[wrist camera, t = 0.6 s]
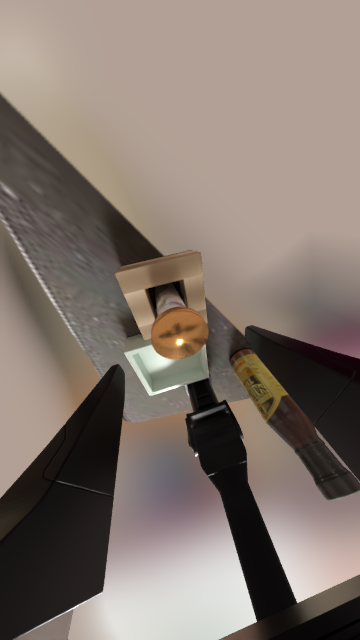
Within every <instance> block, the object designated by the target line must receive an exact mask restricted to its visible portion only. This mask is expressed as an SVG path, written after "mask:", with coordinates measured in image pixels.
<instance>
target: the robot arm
mask: <svg viewBox="0 0 360 640" xmlns="http://www.w3.org/2000/svg"><path fill="white" fill-rule="evenodd" d="M245 338H246V340H247V342H248V343H249V345H250V346H251V348H252V349H253V351H254V352H255V354H256V355H257V357H258V358H259V359H260V360H261V362H262V363H263V364H264V365H265V366H266V368H267V369H268V370H269V371H270V373H271V374H272V375H273V376H274V377H275V379H276V380H277V381H278V382H279V383H280V385H281V386H282V387H283V388H284V390H285V391H286V392H287V393H288V394H289V396H290V397H291V398H292V399H293V401H294V402H295V403H296V404H297V405H298V407H299V408H300V409H301V410H302V411H303V413H304V414H305V415H306V416H307V418H308V419H309V420H310V421H311V422H312V424H314V426H315V427H316V429H317V430H318V431H319V432H320V434H321V435H322V436H323V437H324V438H325V440H326V441H327V442H328V443H329V444H330V446H331V447H332V448H333V449H334V450H335V452H336V453H337V454H338V455H339V457H340V458H341V459H342V460H343V461H344V463H345V464H346V465H347V466H348V468H349V469H350V470H351V471H352V472H353V474H354V475H355V476H356V477H357V478H358V480H359V481H360V359H358V358H355V357H351V356H348V355H344V354H341V353H337V352H334V351H330V350H327V349H324V348H321V347H318V346H314V345H311V344H308V343H305V342H302V341H299V340H296V339H292V338H290V337H287V336H284V335H280V334H277V333H274V332H271V331H268V330H265V329H261V328H258V327H255V326H247V327H246V329H245ZM185 389H186V392H187V395H188V397H190V401H191V404H192V408H193V413H190V414H186V415H187V418H186V419H185V420H186V424H187V432H188V443H189V446H190V447H191V448H192V449H193V451H194V453H195V456H199V460H200V464H201V467H202V469H203V470H204V471H205V473H206V474H207V476H208V477H209V479H210V480H211V481H212V483H213V484H214V485H215V487H216V488H217V489H218V491H219V492H220V495H221V498H222V501H223V504H224V508H225V512H226V515H227V519H228V522H229V525H230V529H231V533H232V536H233V540H234V543H235V547H236V550H237V553H238V557H239V560H240V564H241V567H242V571H243V574H244V578H245V581H246V584H247V588H248V592H249V595H250V599H251V602H252V605H253V609H254V612H255V616H256V619H257V622H256V623H254V624H252V625H250V626H247V627H245V628H243V629H241V630H239V631H237V632H235V633H232V634H230V635H228V636H226V637H224V638H222V639H219V640H360V575H358V576H356V577H353V578H351V579H349V580H347V581H345V582H343V583H341V584H338V585H336V586H334V587H332V588H330V589H328V590H325V591H323V592H321V593H319V594H317V595H314V596H313V597H310V598H308V599H306V600H304V601H302V602H299V603H297V601H296V599H295V597H294V594H293V592H292V589H291V587H290V584H289V582H288V580H287V577H286V574H285V572H284V570H283V567H282V565H281V563H280V560H279V557H278V555H277V553H276V550H275V548H274V545H273V543H272V540H271V538H270V535H269V533H268V531H267V528H266V526H265V523H264V521H263V518H262V516H261V513H260V511H259V508H258V506H257V503H256V501H255V499H254V496H253V494H252V491H251V489H250V486H249V484H248V476H247V453H246V449H245V446H244V444H243V442H242V439H243V438H244V437H243V433H242V431H241V428H240V426H239V424H238V422H237V420H236V418H235V416H234V414H233V412H232V411H231V409H230V407H229V405H228V403H227V402H226V400H223V401H222V402H220V403H219V402H218V400H217V398H216V395H215V393H214V391H213V388H212V382H211V375H210V374H209V378H206V379H203V380H200V381H196V382H193V383H190V384H187V385H185ZM124 400H125V373H124V371H123V369H122V368H121V366H120V365H119V364H116V365H113V366H111V368H110V369H109V370H108V371H107V373H106V374H105V375H104V376H103V377H102V379H101V380H100V381H99V382H98V384H97V385H96V386H95V387H94V389H93V390H92V391H91V392H90V394H89V395H88V396H87V397H86V398H85V400H84V401H83V402H82V403H81V405H80V406H79V407H78V408H77V410H76V411H75V412H74V413H73V415H72V416H71V417H70V418H69V419H68V421H67V422H66V424H65V425H64V426H63V427H62V428H61V429H60V431H59V432H58V433H57V434H56V435H55V437H54V438H53V439H52V440H51V441H50V443H49V444H48V445H47V446H46V447H45V449H44V450H43V451H42V452H41V453H40V454H39V455H38V457H37V458H36V459H35V460H34V461H33V462H32V463H31V465H30V466H29V467H28V468H27V469H26V470H25V471H24V472H23V473H22V475H21V476H20V477H19V478H18V479H17V480H16V481H15V482H14V484H13V485H12V486H11V487H10V488H9V489H8V490H7V491H6V493H5V494H4V495H3V496H2V497H1V498H0V640H68V639H67V638H68V633H69V628H70V624H71V619H72V614H73V609H74V608H75V607H77V606H79V605H80V604H83V603H84V602H86V601H88V600H90V599H92V598H94V597H96V596H97V595H99V594H101V593H102V592H103V587H104V579H105V570H106V562H107V553H108V544H109V534H110V526H111V517H112V508H113V499H114V497H113V496H114V489H115V480H116V471H117V461H118V454H119V445H120V436H121V427H122V418H123V409H124Z"/></svg>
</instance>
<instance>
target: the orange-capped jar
mask: <svg viewBox="0 0 360 640" xmlns="http://www.w3.org/2000/svg"><path fill="white" fill-rule="evenodd" d="M155 297H156V305H157V313H158V317H157V318H156V319H155V320H154V322H153V324H152V328H151V342H152V346H153V348H154V350H155V351H156V352H157V353H158V354H159V355H160V356H162V357H165V358H168V359H184V358H187V357H190V356H192V355H194V354H195V353H197V352H198V351H199V350H201V348H202V347H203V346H204V345H205V343H206V341H207V339H208V334H209V330H208V326H207V324H206V322H205V321H204V319H203V318H202V316H201V315H200V314H199V313H198V312H197V311H196V310H194V309H192V308H189V307H186V306H185V304H184V302H183V301H182V299H181V297H180V295H179V294H178V292H177V290H176V288H175V287H174V285H173V284H172V283H171V282H170V283H167V284H163V285H159V286H156V287H155Z"/></svg>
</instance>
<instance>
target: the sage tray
mask: <svg viewBox="0 0 360 640" xmlns="http://www.w3.org/2000/svg"><path fill="white" fill-rule="evenodd" d="M124 354H125V355H126V357H127V359H128V360H129V362H130V364H131V365H132V367H133V369H134V370H135V372H136V374H137V375H138V377H139V379H140V380H141V382H142V384H143V385H144V387H145V389H146V390H147V392H148V394H149V395H150V396H152V395H155V394H158V393H161V392H164V391H168V390H171V389H174V388H177V387H180V386H184V385H187V384H190V383H193V382H196V381H200V380H203V379H206V378H209V370H208V362H207V353H206V345H204V346H203V347H202V348H201V350H199V351H198V352H197V353H195V354H194V355H192V356H190V357H187V358H184V359H168V358H165V357H162V356H160V355H159V354H158V353H157V352H156V351H155V350H154V348H153V346H152V342H151V339H148V340H144V338H143V336H142V334H139V335H135V336H132V337H128V338H127V341H126V346H125V351H124Z"/></svg>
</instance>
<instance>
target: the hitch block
mask: <svg viewBox="0 0 360 640" xmlns="http://www.w3.org/2000/svg"><path fill="white" fill-rule="evenodd" d="M115 276H116V278H117V280H118V282H119V285H120V287H121V289H122V291H123V294H124V296H125V298H126V300H127V302H128V305H129V307H130V309H131V311H132V314H133V316H134V318H135V320H136V323H137V325H138V327H139V329H140V332H141V334H142V336H143V338H144V340H148V339H151V328H152V324H153V322H154V320H155V319H156V318H157V317H158V313H157V308H156V309H155V308H154V305H153V302H152V299H151V296H150V294H149V291H148V288H151V287H155V286H159V285H163V284H167V283H170V282H174V281H178V280H179V284H180V289H181V294H182V299H183V302H184V304H185V306H186V307H189V308H192V309H194V310H196V311H197V312H198V313H199V314H200V315H201V316H202V318H203V319H204V321H205V322H206V323H207V313H206V302H205V292H204V281H203V271H202V260H201V253H200V252H197V251H192V250H189V251H185V252H180V253H176V254H172V255H168V256H163V257H159V258H155V259H151V260H147V261H143V262H138V263H134V264H130V265H126V266H122V267H120V268H119V269H118V270H117V271H116V272H115Z"/></svg>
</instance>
